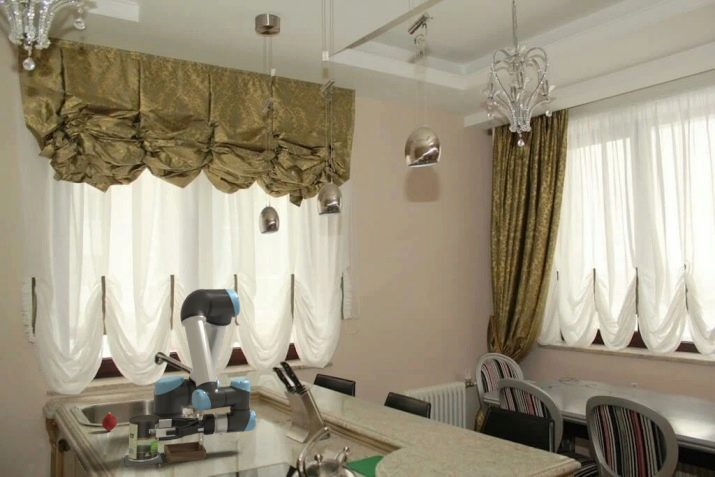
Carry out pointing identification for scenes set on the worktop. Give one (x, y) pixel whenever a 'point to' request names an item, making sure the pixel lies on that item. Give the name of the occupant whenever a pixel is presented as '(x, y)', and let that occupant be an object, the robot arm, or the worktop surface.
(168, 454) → the wooden square tray
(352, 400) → the worktop surface
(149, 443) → the coffee can
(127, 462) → the mat
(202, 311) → the robot arm
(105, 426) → the onion
